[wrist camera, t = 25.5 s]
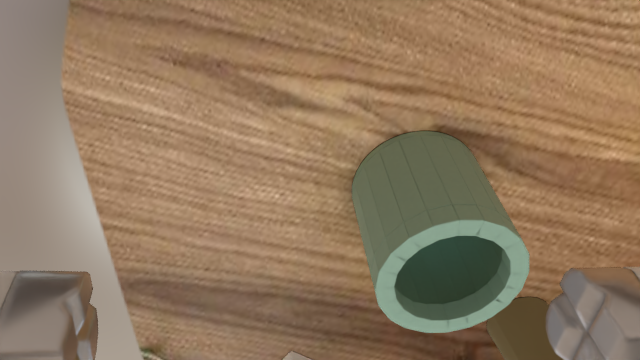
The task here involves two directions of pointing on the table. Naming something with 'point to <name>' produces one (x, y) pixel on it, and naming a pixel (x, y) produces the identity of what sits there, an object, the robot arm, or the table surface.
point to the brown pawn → (522, 330)
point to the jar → (436, 234)
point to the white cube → (295, 356)
